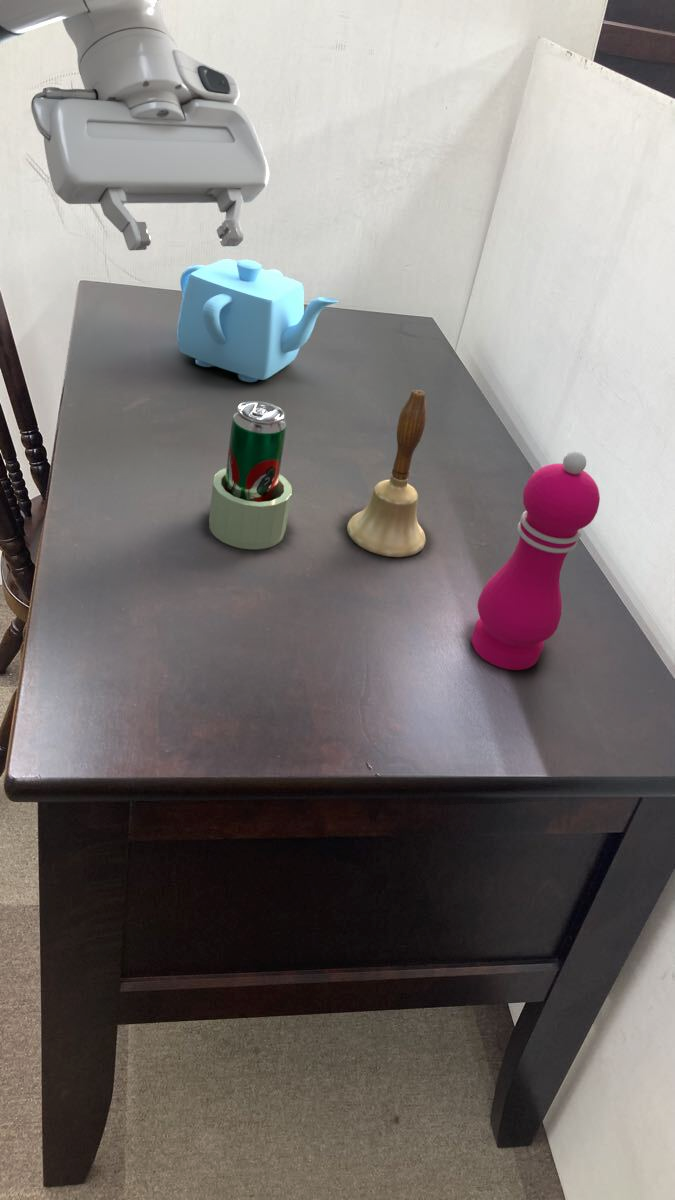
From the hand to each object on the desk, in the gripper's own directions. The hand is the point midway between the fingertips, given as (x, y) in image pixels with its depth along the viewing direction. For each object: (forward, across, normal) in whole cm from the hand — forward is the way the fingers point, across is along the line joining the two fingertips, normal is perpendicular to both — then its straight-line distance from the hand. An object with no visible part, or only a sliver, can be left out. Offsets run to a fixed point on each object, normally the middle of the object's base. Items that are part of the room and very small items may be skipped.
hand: (188, 245), depth 79 cm
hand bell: (+29, +16, +5) cm, 34 cm away
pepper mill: (+43, +14, -8) cm, 46 cm away
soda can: (+24, +3, +10) cm, 26 cm away
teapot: (+1, +25, +34) cm, 42 cm away
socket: (+24, +3, +10) cm, 27 cm away
